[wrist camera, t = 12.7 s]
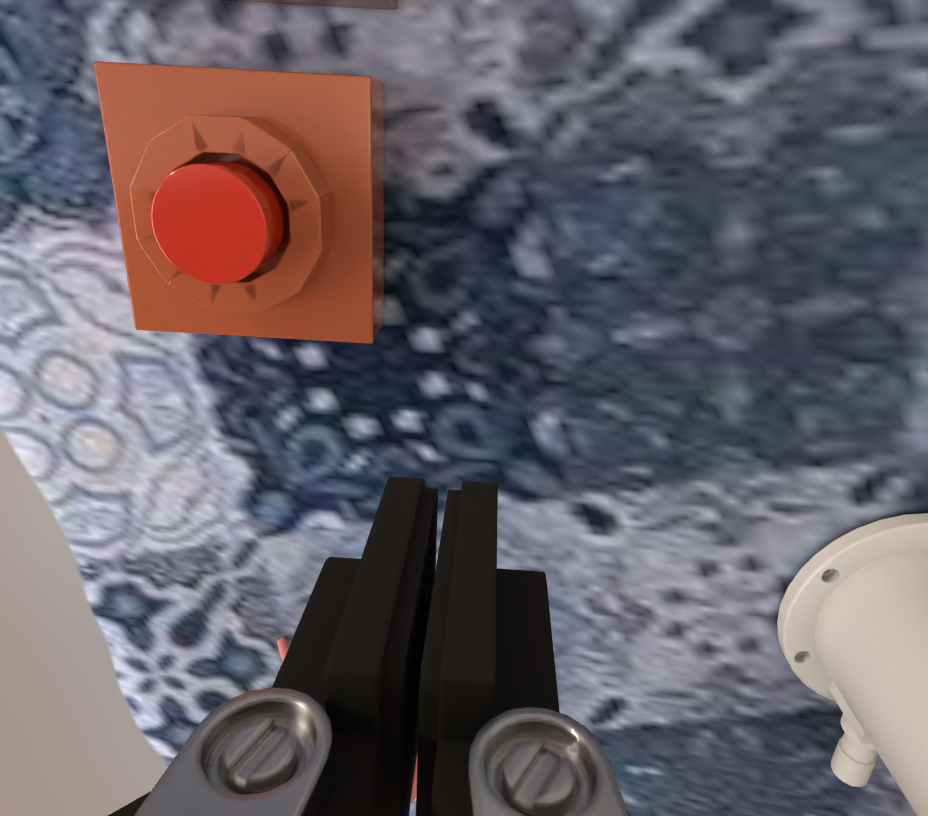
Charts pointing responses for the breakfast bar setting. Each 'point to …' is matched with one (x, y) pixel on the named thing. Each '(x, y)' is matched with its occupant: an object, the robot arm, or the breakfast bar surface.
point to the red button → (217, 221)
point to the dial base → (337, 3)
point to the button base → (286, 171)
